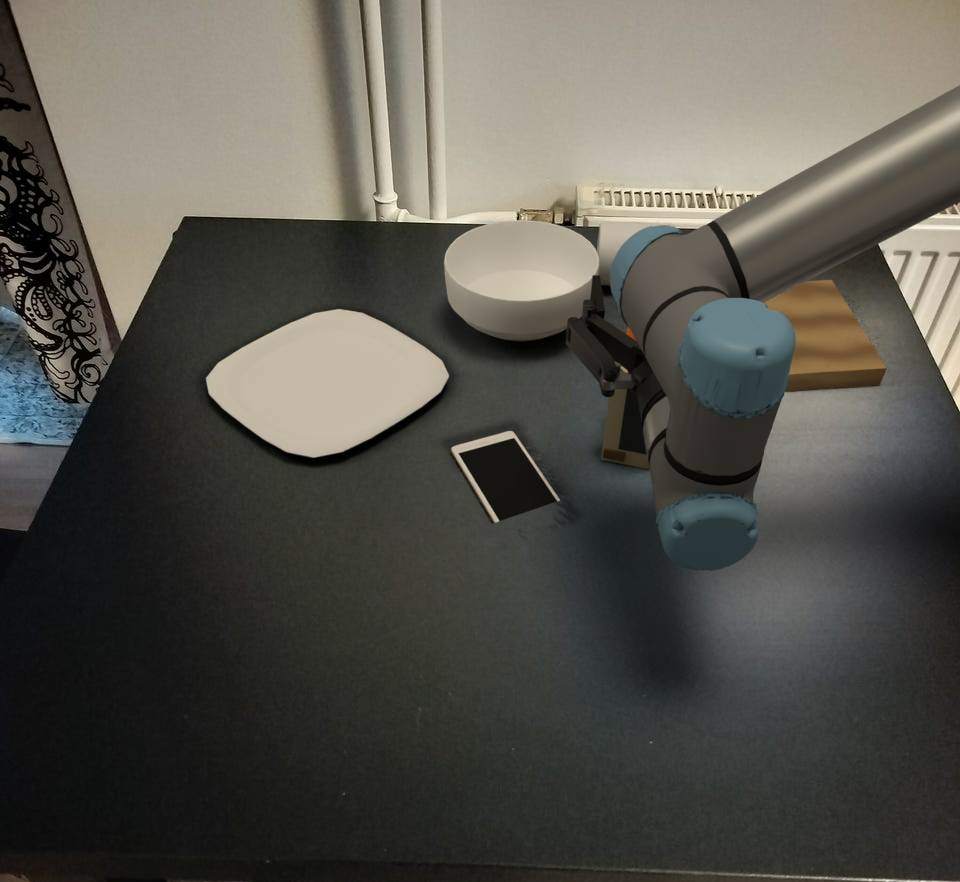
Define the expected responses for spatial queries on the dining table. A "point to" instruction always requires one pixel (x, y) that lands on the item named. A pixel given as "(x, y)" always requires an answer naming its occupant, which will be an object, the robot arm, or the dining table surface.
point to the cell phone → (503, 475)
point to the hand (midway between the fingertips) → (657, 287)
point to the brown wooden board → (826, 339)
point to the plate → (326, 382)
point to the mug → (615, 243)
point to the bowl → (520, 278)
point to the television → (624, 430)
